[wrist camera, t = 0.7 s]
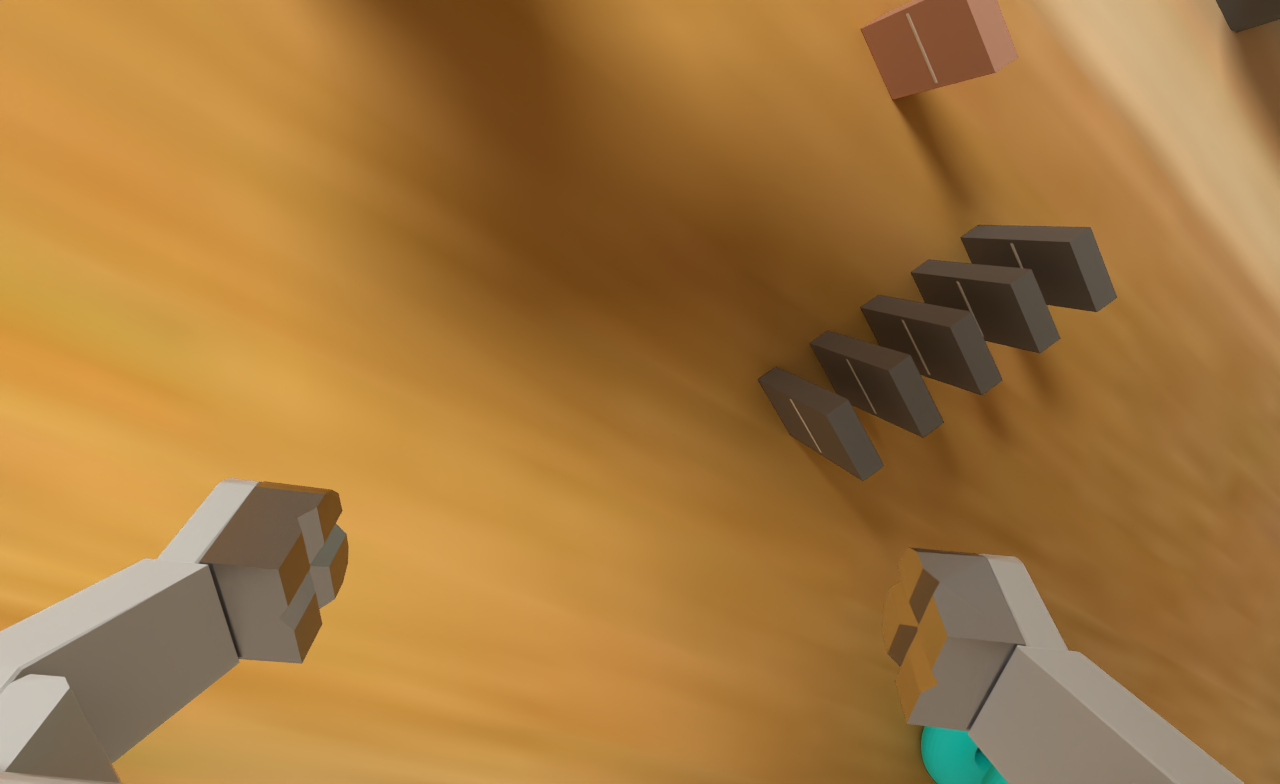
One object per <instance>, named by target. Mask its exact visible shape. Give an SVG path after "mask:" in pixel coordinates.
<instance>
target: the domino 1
mask: <svg viewBox="0 0 1280 784" xmlns="http://www.w3.org/2000/svg"><path fill="white" fill-rule="evenodd" d="M758 381H759V383H760V384H761V386H762V388H763V389H764V391H765V393H766V395H767V396H768V398H769V400H770V401H771V403H772V405H773V406H774V408H775V410H776V412H777V413H778V415H779V417H780V418H781V420H782V422H783V424H784V425H785V427H786V429H787V430H788V432H789V434H790V435H791V436H793V437H794V438H796V439H797V440H799V441H801V442H802V443H804V444H805V445H807V446H808V447H810V448H812V449H813V450H815V451H816V452H818V453H819V454H821V455H823V456H824V457H826V458H827V459H829V460H830V461H832V462H834V463H835V464H837V465H838V466H840V467H841V468H843V469H845V470H846V471H848V472H849V473H851V474H852V475H854V476H856V477H857V478H859V479H860V480H862V481H864V480H865V479H867V478H868V477H870V476H871V475H872V474H874V473H875V472H876V471H878V470H879V469H881V468H882V467H883V466H884V464H883V462H882V460H881V459H880V457H879V455H878V453H877V451H876V449H875V448H874V446H873V444H872V442H871V440H870V438H869V437H868V435H867V433H866V431H865V429H864V427H863V426H862V424H861V422H860V420H859V418H858V416H857V415H856V413H855V411H854V409H853V407H852V405H851V404H850V402H849V400H848V399H846V398H844V397H842V396H840V395H838V394H835V393H833V392H831V391H829V390H827V389H824V388H822V387H820V386H818V385H816V384H813V383H811V382H809V381H807V380H805V379H802V378H800V377H798V376H796V375H794V374H791V373H789V372H787V371H785V370H783V369H780V368H778V367H775V368H773V369H772V370H770V371H769V372H768V373H766V374H765V375H763V376H762V377H760V378H759V379H758Z"/></svg>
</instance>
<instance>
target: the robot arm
mask: <svg viewBox="0 0 1280 784" xmlns="http://www.w3.org/2000/svg"><path fill="white" fill-rule="evenodd" d="M341 513H342V507H341V503H340V498H339V494H338V493H337V492H335V491H333V490H330V489H322V488H314V487H306V486H298V485H290V484H282V483H273V482H265V481H264V482H258V481H251V480H243V479H236V478H228V479H226V480H224V481H221V482H220V483H218V484H217V486H216V487H215V488H214V489H213V490H212V492H211V493H210V494H209V495H208V497H207V498H206V499H205V500H204V501H203V503H202V504H201V505H200V506H199V508H198V509H197V510H196V511H195V512H194V514H193V515H192V516H191V517H190V519H189V520H188V521H187V522H186V523H185V525H184V526H183V527H182V528H181V530H180V531H179V532H178V533H177V534H176V536H175V537H174V538H173V539H172V541H171V542H170V543H169V544H168V546H167V547H166V548H165V549H164V550H163V552H162V553H161V554H160V555H159V557H158V558H157V559H146V558H145V559H143V560H141V561H139V562H137V563H135V564H133V565H131V566H129V567H127V568H125V569H123V570H121V571H119V572H117V573H115V574H113V575H111V576H109V577H107V578H105V579H103V580H101V581H99V582H97V583H96V584H94V585H92V586H90V587H88V588H86V589H84V590H82V591H80V592H78V593H76V594H74V595H72V596H70V597H68V598H66V599H64V600H62V601H60V602H58V603H56V604H54V605H52V606H50V607H48V608H46V609H44V610H42V611H40V612H38V613H36V614H34V615H32V616H30V617H28V618H26V619H24V620H22V621H20V622H18V623H16V624H14V625H12V626H10V627H8V628H6V629H4V630H2V631H0V784H124V783H122V782H121V780H120V778H119V776H118V774H117V773H116V771H115V769H114V767H113V765H112V763H113V762H115V761H116V760H117V759H118V758H120V757H121V756H122V755H123V754H125V753H126V752H127V751H128V750H130V749H131V748H132V747H133V746H135V745H136V744H137V743H138V742H140V741H141V740H142V739H144V738H145V737H146V736H147V735H149V734H150V733H151V732H152V731H154V730H155V729H156V728H157V727H159V726H160V725H161V724H162V723H164V722H165V721H166V720H168V719H169V718H170V717H171V716H173V715H174V714H175V713H176V712H178V711H179V710H180V709H181V708H183V707H184V706H185V705H186V704H188V703H189V702H190V701H191V700H193V699H194V698H195V697H197V696H198V695H199V694H200V693H202V692H203V691H204V690H205V689H207V688H208V687H209V686H210V685H212V684H213V683H214V682H215V681H217V680H218V679H219V678H220V677H222V676H223V675H224V674H226V673H227V672H228V671H229V670H231V669H232V668H233V667H234V666H236V665H237V664H238V663H239V659H246V660H260V661H274V662H288V663H302V662H303V661H304V659H305V657H306V655H307V653H308V651H309V649H310V647H311V645H312V643H313V641H314V639H315V637H316V635H317V633H318V631H319V629H320V627H321V625H322V620H321V616H320V611H319V609H320V608H322V607H323V606H325V605H326V604H328V603H329V602H331V601H332V600H334V599H335V598H336V596H337V594H338V592H339V589H340V587H341V585H342V583H343V580H344V576H345V572H346V568H347V564H348V541H347V534H346V533H345V532H344V531H343V530H342V529H341V528H340V527H339V526H338V525H337V524H336V522H337V520H338V518H339V516H340V514H341ZM898 569H899V572H900V575H901V578H902V580H901V581H900V582H898V583H897V584H895V585H894V586H892V587H891V588H889V591H888V594H887V597H886V600H885V603H884V608H883V620H882V627H883V637H884V642H885V646H886V650H887V654H888V655H889V656H890V657H891V658H892V659H893V660H894V661H895V662H896V663H897V664H898V665H899V666H900V667H901V668H900V670H899V672H898V675H897V677H896V680H895V683H896V687H897V691H898V694H899V698H900V702H901V705H902V709H903V712H904V716H905V720H906V723H907V724H913V725H921V726H929V727H937V728H945V729H953V730H960V731H968V732H969V733H968V735H969V737H970V738H971V739H972V740H973V741H974V743H975V744H976V745H977V746H978V747H979V749H980V750H981V751H982V752H983V753H984V755H985V756H986V757H987V758H988V759H989V761H990V762H991V763H992V764H993V765H994V767H995V768H996V769H997V770H998V771H999V773H1000V774H1001V775H1002V776H1003V777H1004V779H1005V780H1006V781H1007V782H1008V783H1009V784H1245V783H1243V782H1242V781H1241V780H1240V779H1238V778H1237V777H1236V776H1235V775H1233V774H1232V773H1231V772H1230V771H1228V770H1227V769H1226V768H1225V767H1223V766H1222V765H1221V764H1220V763H1218V762H1217V761H1216V760H1215V759H1213V758H1212V757H1211V756H1210V755H1208V754H1207V753H1206V752H1205V751H1203V750H1202V749H1201V748H1200V747H1198V746H1197V745H1196V744H1195V743H1193V742H1192V741H1191V740H1190V739H1188V738H1187V737H1186V736H1185V735H1183V734H1182V733H1181V732H1180V731H1178V730H1177V729H1176V728H1175V727H1173V726H1172V725H1171V724H1169V723H1168V722H1167V721H1166V720H1164V719H1163V718H1162V717H1161V716H1159V715H1158V714H1157V713H1156V712H1154V711H1153V710H1152V709H1151V708H1149V707H1148V706H1147V705H1146V704H1144V703H1143V702H1142V701H1141V700H1139V699H1138V698H1137V697H1136V696H1134V695H1133V694H1132V693H1131V692H1129V691H1128V690H1127V689H1126V688H1124V687H1123V686H1122V685H1121V684H1119V683H1118V682H1117V681H1116V680H1114V679H1113V678H1112V677H1111V676H1109V675H1108V674H1107V673H1106V672H1104V671H1103V670H1102V669H1101V668H1099V667H1098V666H1097V665H1096V664H1094V663H1093V662H1092V661H1090V660H1089V659H1088V658H1087V657H1085V656H1084V655H1083V654H1082V653H1080V652H1077V651H1069V650H1068V648H1067V646H1066V645H1065V643H1064V641H1063V639H1062V637H1061V635H1060V633H1059V631H1058V629H1057V627H1056V625H1055V623H1054V622H1053V620H1052V618H1051V616H1050V614H1049V612H1048V610H1047V608H1046V606H1045V604H1044V602H1043V600H1042V599H1041V597H1040V595H1039V593H1038V591H1037V589H1036V587H1035V585H1034V583H1033V581H1032V579H1031V577H1030V576H1029V574H1028V572H1027V570H1026V568H1025V566H1024V564H1023V562H1022V561H1020V560H1019V559H1018V558H1017V557H1015V556H1003V555H991V554H975V553H965V552H954V551H943V550H932V549H921V548H910V547H909V548H908V549H907V550H906V551H905V552H904V553H903V555H902V558H901V560H900V563H899V565H898Z"/></svg>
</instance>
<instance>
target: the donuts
mask: <svg viewBox="0 0 1280 784" xmlns="http://www.w3.org/2000/svg"><path fill="white" fill-rule="evenodd" d="M968 733H969V732H968V731H960V730H953V729H945V728H937V727H929V726H925V727H924V730H923V733H922V738H921V754H922V759H923V762H924V765H925V767H926V769H927V771H928V773H929V774H930V776H931V777H932V778H933V779H934V781H935V782H936V783H938V784H1009V783H1008V782H1007V781H1006V780H1005V779H1004V777H1003V776H1002V775H1001V774H1000V773H999V771H998V770H997V769H996V768H995V767H994V765H993V764H992V763H991V762H990V761H989V759H988V758H987V757H986V756H985V755H984V753H983V752H982V751H981V750H980V749H978V746H977V745H976V744H975V743H974V741H973V740H972V739H971V738H970V737H969V735H968ZM977 749H978V750H977Z"/></svg>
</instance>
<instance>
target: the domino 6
mask: <svg viewBox="0 0 1280 784" xmlns="http://www.w3.org/2000/svg"><path fill="white" fill-rule="evenodd" d="M961 239H962V242H963V244H964V246H965V248H966V251H967V253H968V255H969V257H970V260H971V262H972V264H981V265H992V266H1003V267H1014V268H1025V269H1032V271H1033V274H1034V276H1035V279H1036V281H1037V283H1038V286H1039V288H1040V291H1041V293H1042V296H1043V298H1044V300H1045V303H1046V305H1053V306H1060V307H1066V308H1073V309H1080V310H1086V311H1093V312H1098V311H1099V310H1101V309H1102V308H1103V307H1105V306H1106V305H1107V304H1109V303H1110V302H1112V301H1113V300H1114V299H1116V298H1117V296H1116V293H1115V291H1114V288H1113V285H1112V283H1111V280H1110V277H1109V275H1108V272H1107V269H1106V267H1105V264H1104V262H1103V259H1102V256H1101V254H1100V251H1099V248H1098V246H1097V243H1096V240H1095V238H1094V235H1093V232H1092V230H1091V227H1051V226H999V225H978V226H976V227H975V228H973V229H972V230H970V231H969V232H968V233H966V234H965V235H963V236H962V237H961Z"/></svg>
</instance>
